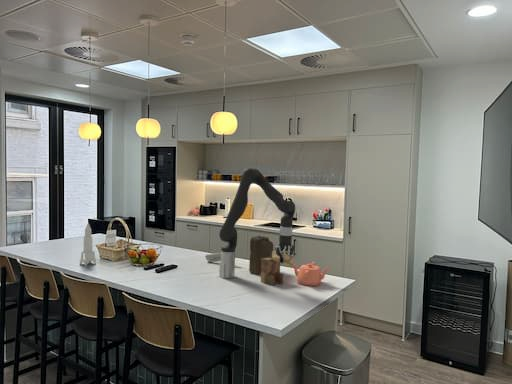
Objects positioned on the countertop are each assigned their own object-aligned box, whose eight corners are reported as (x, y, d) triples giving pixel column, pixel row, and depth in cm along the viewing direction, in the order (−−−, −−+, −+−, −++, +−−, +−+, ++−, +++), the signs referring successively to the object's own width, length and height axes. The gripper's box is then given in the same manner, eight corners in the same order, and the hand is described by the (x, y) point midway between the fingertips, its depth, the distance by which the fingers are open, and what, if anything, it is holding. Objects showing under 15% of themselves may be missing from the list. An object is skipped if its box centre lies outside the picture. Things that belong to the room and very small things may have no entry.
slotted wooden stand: (269, 286, 230) (270, 262, 229) (259, 281, 238) (260, 258, 237) (285, 283, 237) (286, 259, 236) (275, 279, 246) (276, 256, 245)
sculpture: (96, 263, 269) (96, 222, 267) (85, 266, 262) (85, 223, 260) (90, 262, 272) (90, 221, 271) (79, 264, 265) (79, 222, 264)
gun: (236, 265, 274) (233, 251, 274) (207, 268, 284) (204, 255, 284) (237, 264, 276) (235, 250, 277) (208, 267, 286) (206, 254, 287)
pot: (314, 278, 251) (315, 259, 250) (329, 285, 235) (329, 266, 234) (290, 280, 244) (290, 261, 243) (303, 288, 228) (304, 268, 227)
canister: (257, 275, 253) (258, 238, 251) (247, 273, 258) (248, 237, 256) (273, 270, 267) (274, 235, 266) (264, 268, 273) (265, 234, 271)
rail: (288, 265, 217) (288, 257, 217) (271, 258, 231) (271, 250, 231) (292, 265, 219) (293, 256, 219) (275, 258, 233) (276, 250, 233)
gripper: (279, 235, 215) (278, 265, 216) (299, 234, 223) (297, 262, 224) (272, 233, 222) (270, 262, 223) (291, 232, 229) (289, 260, 230)
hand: (284, 262), depth 223 cm, fingers closed on rail, 3 cm apart
